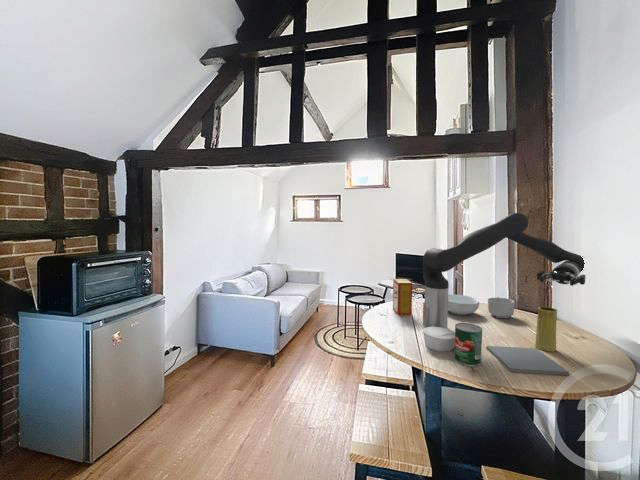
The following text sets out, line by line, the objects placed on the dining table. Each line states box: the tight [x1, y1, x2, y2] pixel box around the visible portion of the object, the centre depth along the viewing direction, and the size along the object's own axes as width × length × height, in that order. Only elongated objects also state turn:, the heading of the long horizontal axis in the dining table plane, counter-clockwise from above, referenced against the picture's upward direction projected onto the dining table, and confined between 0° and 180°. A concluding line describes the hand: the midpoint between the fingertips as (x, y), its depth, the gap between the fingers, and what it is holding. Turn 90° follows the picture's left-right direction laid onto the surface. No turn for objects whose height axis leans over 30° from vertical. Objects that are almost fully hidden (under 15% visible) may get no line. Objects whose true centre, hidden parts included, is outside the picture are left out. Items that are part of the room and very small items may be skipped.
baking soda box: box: [392, 278, 413, 316], centre depth 144 cm, size 10×6×16 cm
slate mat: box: [486, 345, 570, 376], centre depth 94 cm, size 16×16×1 cm
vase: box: [534, 306, 558, 353], centre depth 103 cm, size 6×6×14 cm
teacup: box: [486, 296, 515, 319], centre depth 140 cm, size 14×11×8 cm
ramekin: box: [422, 327, 455, 352], centre depth 105 cm, size 11×11×5 cm
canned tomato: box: [453, 322, 484, 367], centre depth 94 cm, size 8×8×11 cm
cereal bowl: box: [448, 293, 480, 316], centre depth 144 cm, size 17×17×7 cm
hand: (556, 281), depth 108 cm, fingers open, 8 cm apart
